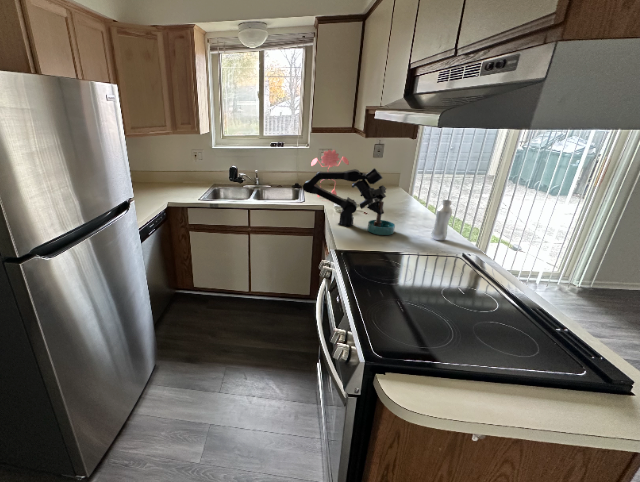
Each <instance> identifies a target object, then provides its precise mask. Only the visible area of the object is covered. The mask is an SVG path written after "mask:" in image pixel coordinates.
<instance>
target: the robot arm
mask: <svg viewBox="0 0 640 482" xmlns="http://www.w3.org/2000/svg"><path fill="white" fill-rule="evenodd" d="M324 179H325V180H328V179H330V180H331V179H333V180H342V181H347V182H352V185H351V188H352V189H354V188H356V189H357V190H358V192H359V193H360V195H359V196H360V197H362V198H363V199H364V200H363V201H362V202H359V207H360V209H361V210H362V209H364V208H366V209H367V210H370V211H372V212H374V213H376V215H377V214H379V215H381V214H382V215H383V214H384V213H385V211H384V209H383V210H382V213H381V211H380V209H379V207H378V206H379V201H383V200H384V199H385V198H386V197H387V196H386V193H387V192H386V190H387V187H386V186H384V185H380V186H378V188H376V189H375V188H374V187H371V186H370V185H375V184H376V183H378V182H379V181H381V180H382V179H383V175H382V174H381V173H380V172H379V171H378V170H377V169H376V168H375V167H374V168H371V170H370V171H369V172H367V173H365V172H361V171H360V170H359V169H357V168H353V169H348V170H345V171H329V172H328V171H318V172H316V174H315V175H314V176H313V177H312V178H310V179H308V180H307V181H305V182H304V183H303V185H302V190H303V192H305V193H308V194H311V195H316V196H317V195H319V196H320V197H321V198H324V200H326V201H328V202H331V203H333V204H336V205H337V206H339V207H340V208H341V211H340V214H339V222H338V223H337V224H338V225H339V226H343V227H347V228H349V227H351V226H352V225H354V220H355V219H354V213H356V212H357V208H358V203H357V201H355V199H353V198H351V197H349V196H347V198H343V197H341V196H338V194H337V195H335V194H333V193H332V191H331V192H330V191H328V190H327V189H324V188H322V186H320V185H319V184H317V183H318V182H320V181H321V180H324ZM382 215H381V216H382Z"/></svg>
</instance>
